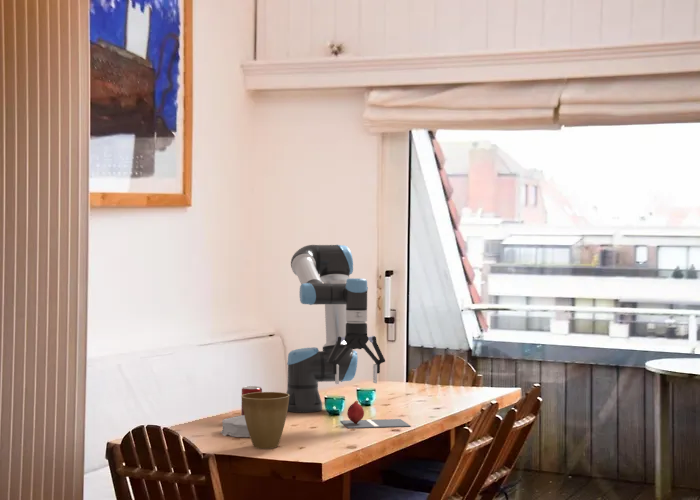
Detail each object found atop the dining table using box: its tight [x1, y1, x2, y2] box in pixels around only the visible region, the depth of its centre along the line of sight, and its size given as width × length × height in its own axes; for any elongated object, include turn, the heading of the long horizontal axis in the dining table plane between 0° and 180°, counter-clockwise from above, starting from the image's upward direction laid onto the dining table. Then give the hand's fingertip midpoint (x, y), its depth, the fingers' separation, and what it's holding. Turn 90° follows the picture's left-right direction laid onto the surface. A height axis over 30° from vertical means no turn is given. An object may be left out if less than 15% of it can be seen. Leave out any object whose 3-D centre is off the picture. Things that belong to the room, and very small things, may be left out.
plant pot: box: [240, 391, 289, 450], centre depth 310 cm, size 15×15×16 cm
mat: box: [340, 418, 412, 430], centre depth 352 cm, size 22×14×1 cm, turn 102°
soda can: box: [240, 385, 263, 416], centre depth 356 cm, size 7×7×12 cm
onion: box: [346, 400, 365, 424], centre depth 350 cm, size 6×6×8 cm
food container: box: [219, 415, 251, 438], centre depth 334 cm, size 20×20×7 cm
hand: (356, 383), depth 350 cm, fingers open, 13 cm apart
